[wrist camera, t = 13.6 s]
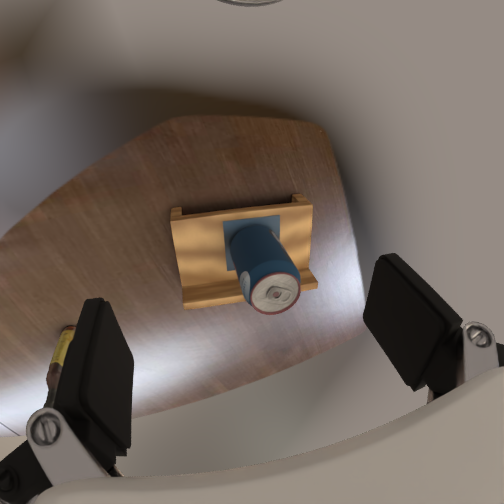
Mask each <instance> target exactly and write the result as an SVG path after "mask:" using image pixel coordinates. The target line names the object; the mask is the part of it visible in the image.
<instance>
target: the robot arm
mask: <svg viewBox="0 0 504 504" xmlns="http://www.w3.org/2000/svg"><path fill="white" fill-rule="evenodd" d="M363 320H364V322H365V324H366V326H367V327H368V329H369V330H370V331H371V333H372V334H373V336H374V337H375V339H376V340H377V342H378V343H379V345H380V346H381V348H382V349H383V350H384V352H385V353H386V355H387V356H388V358H389V359H390V361H391V362H392V364H393V365H394V367H395V368H396V370H397V372H398V373H399V375H400V376H401V378H402V379H403V381H404V382H405V384H406V385H408V386H410V387H411V388H412V390H413V391H414V392H415V391H417V390H419V389H421V388H423V387H425V385H426V384H427V386H428V387H429V392H428V400H427V404H426V405H424V406H422V407H421V408H418V409H416V410H415V411H413V412H410V413H408V414H406V415H404V416H402V417H400V418H398V419H396V420H393V421H391V422H389V423H387V424H384V425H382V426H380V427H377V428H375V429H372V430H370V431H368V432H365V433H362V434H360V435H357V436H355V437H352V438H349V439H347V440H344V441H341V442H338V443H335V444H332V445H329V446H326V447H323V448H319V449H316V450H313V451H310V452H306V453H302V454H299V455H295V456H291V457H287V458H283V459H279V460H275V461H270V462H266V463H261V464H256V465H251V466H246V467H240V468H234V469H227V470H220V471H213V472H204V473H194V474H183V475H171V476H149V477H148V476H146V477H125V476H124V475H123V474H122V473H121V472H120V471H119V469H118V468H117V467H116V466H115V464H116V456H127V452H126V451H127V450H126V449H127V448H130V447H131V412H132V388H133V372H134V359H133V355H132V353H131V351H130V349H129V347H128V344H127V342H126V340H125V338H124V336H123V333H122V331H121V329H120V327H119V324H118V322H117V320H116V317H115V315H114V312H113V310H112V307H111V305H110V303H109V302H108V301H106V302H105V301H104V299H103V298H93V299H87V300H85V302H84V305H83V308H82V311H81V314H80V317H79V320H78V323H77V327H76V330H75V333H74V336H73V340H71V341H70V343H69V345H68V348H67V352H66V355H65V359H64V363H63V366H62V370H61V374H60V378H59V382H58V387H57V391H56V396H55V400H54V405H53V408H41V409H39V410H37V411H36V412H35V413H33V414H32V415H31V417H30V418H29V420H28V422H27V426H26V436H27V440H26V441H25V442H24V443H22V444H21V445H20V446H19V447H17V448H16V449H15V450H14V451H13V452H11V453H10V454H9V455H8V456H6V457H5V458H4V459H3V460H2V461H1V462H0V504H504V345H503V344H499V343H496V341H495V337H494V334H493V333H492V331H491V330H490V329H489V328H488V327H487V326H485V325H484V324H482V323H479V322H469V323H467V324H465V326H464V328H463V329H462V328H461V327H460V325H461V323H462V321H463V320H462V318H461V317H460V316H459V315H458V314H457V313H456V312H455V311H454V310H453V309H452V308H451V307H450V306H449V305H448V304H447V303H446V302H445V301H444V300H443V299H442V298H441V297H440V295H439V294H438V293H437V292H436V291H435V290H434V289H433V288H432V287H431V286H430V285H429V284H428V283H427V282H426V281H425V280H423V279H422V278H421V277H420V276H419V275H418V274H417V273H416V272H415V271H414V270H413V269H412V268H411V267H410V266H409V265H408V264H407V263H406V262H405V261H403V260H402V259H401V258H400V257H399V256H398V255H397V254H395V253H391V254H385V255H381V256H380V257H379V259H378V260H377V261H376V263H375V267H374V272H373V276H372V281H371V285H370V290H369V293H368V297H367V301H366V305H365V309H364V313H363Z"/></svg>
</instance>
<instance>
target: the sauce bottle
mask: <svg viewBox="0 0 504 504" xmlns="http://www.w3.org/2000/svg"><path fill="white" fill-rule="evenodd" d="M75 330H76V327H72V326H70V327H66V328H65V329H64V330H63V332H62V333H61V336H60V338H59V341H58V343H57V346H56V349H55V352H54V354H53V357H52V360H51V363H50V366H49V371H48V373H47V378H46V381H47V385H48V389H49V391H48V396H47V400H46V403H45V404H44V407H43V408H53V405H54V400H55V396H56V391H57V387H58V382H59V378H60V374H61V370H62V366H63V363H64V359H65V355H66V352H67V348H68V345H69V343H70V341H71V340H73V336H74V333H75Z"/></svg>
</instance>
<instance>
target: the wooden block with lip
mask: <svg viewBox="0 0 504 504" xmlns="http://www.w3.org/2000/svg"><path fill="white" fill-rule="evenodd" d="M312 211H313V205H312V204H311V203H310V202H309V201H308V200H307V199H306V198H305V197H304V196H303V195H302V194H292V203H285V204H275V205H266V206H256V207H247V208H239V209H230V210H222V211H214V212H206V213H198V214H191V215H183V216H182V208H181V207H175V208H171V218H170V224H171V230H172V236H173V241H174V247H175V252H176V258H177V263H178V268H179V273H180V278H181V283H182V292H183V306H184V310H188V309H195V308H202V307H209V306H216V305H223V304H229V303H236V302H242V301H246V300H245V298H244V296H243V293H242V290H241V287H240V283H239V280H238V277H237V274H236V271H235V267H234V264H233V261H232V258H231V254H230V246H231V243H232V240H233V239H234V237H235V236H236V235H237V234H238V233H239V232H240V231H241V230H243V229H244V228H246V227H249V226H254V225H260V226H265V227H267V228H269V229H271V230H272V231H273V232H274V233H275V234H276V235H277V237H278V239H279V240H280V242H281V243H282V245H283V247H284V248H285V250H286V251H287V253H288V255H289V256H290V258H291V259H292V261H293V263H294V264H295V266H296V268H297V269H298V271H299V273H300V277H301V283H300V286H301V291H306V290H311V289H317V287H318V281H317V280H316V278H315V277H314V275H313V274H312V272H311V271H310V269H309V256H310V242H311V227H312Z"/></svg>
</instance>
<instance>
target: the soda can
mask: <svg viewBox="0 0 504 504" xmlns="http://www.w3.org/2000/svg"><path fill="white" fill-rule="evenodd" d="M230 254H231V258H232V261H233V264H234V267H235V271H236V274H237V277H238V280H239V283H240V287H241V290H242V293H243V296H244V298H245V300H246V301H247V302H248V303H249V304H250V305H251V306H253V307H254V309H255V310H256V311H258V312H260V313H262V314H266V315H274V314H279V313H282V312H284V311H286V310H288V309H289V308H291V307H292V306H293V305H294V304H295V303H296V302H297V300H298V298H299V296H300V293H301V286H300V283H301V277H300V273H299V271H298V269H297V268H296V266H295V264H294V263H293V261H292V259H291V258H290V256H289V255H288V253H287V251H286V250H285V248H284V247H283V245H282V243H281V242H280V240H279V239H278V237H277V235H276V234H275V233H274V232H273V231H272V230H271V229H269V228H267V227H265V226H260V225H254V226H249V227H246V228H244V229H243V230H241V231H240V232H239V233H238V234H237V235H236V236H235V237H234V239H233V240H232V243H231V246H230Z"/></svg>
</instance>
